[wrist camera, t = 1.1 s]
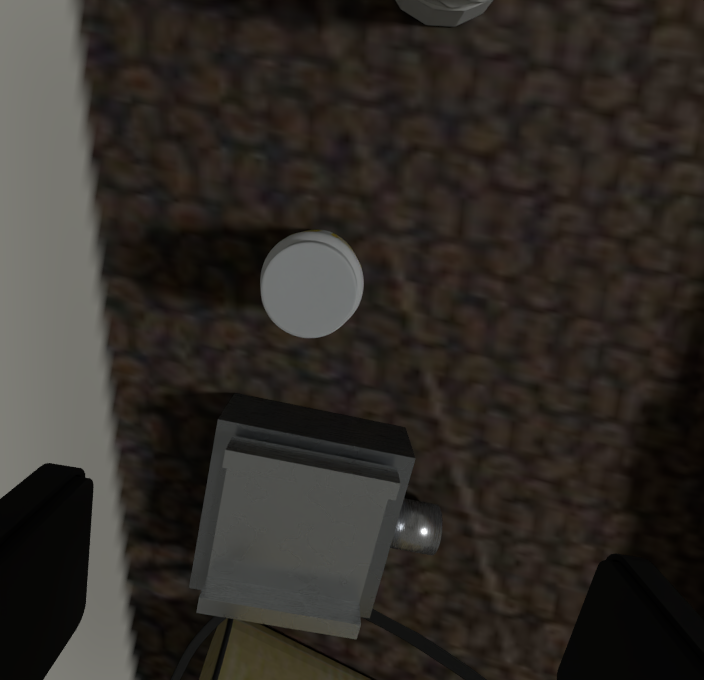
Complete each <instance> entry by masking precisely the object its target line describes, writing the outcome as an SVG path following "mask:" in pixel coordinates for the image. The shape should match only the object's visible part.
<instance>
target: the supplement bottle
mask: <svg viewBox="0 0 704 680" xmlns="http://www.w3.org/2000/svg"><path fill="white" fill-rule="evenodd" d="M363 286H364V281H363V273H362V269H361V266H360V263H359V261H358V259H357V257H356V255H355V253H354V252H353V250H352V248H351V247H350V246H349V244H348V243H347V242H346V241H345V240H344V239H342V238H341V237H340V236H338V235H336V234H334V233H332V232H329V231H325V230H307V231H303V232H299V233H295V234H292V235H290V236H288V237H286V238H285V239H283V240H281V241H280V242H279V243H277V244H276V245H275V246H274V247H273V248H272V250H271V251H270V252H269V254H268V255H267V257H266V259H265V261H264V264H263V267H262V271H261V277H260V287H261V298H262V303H263V306H264V308H265V310H266V312H267V314H268V316H269V317H270V318H271V320H272V321H273V322H274V323H275V324H276V325H277V326H278V327H279V328H281V329H282V330H284V331H285V332H287V333H289V334H291V335H294V336H297V337H303V338H317V337H322V336H325V335H328V334H330V333H332V332H334V331H335V330H337V329H338V328H340V327H341V326H342V325H343V324H344V323H345V322H346V321H347V320H348V319H349V318H350V317H351V316H352V315H353V313H354V312H355V311H356V309H357V307H358V305H359V303H360V300H361V297H362V293H363Z"/></svg>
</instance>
